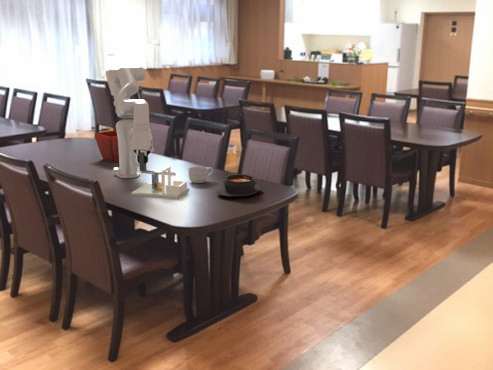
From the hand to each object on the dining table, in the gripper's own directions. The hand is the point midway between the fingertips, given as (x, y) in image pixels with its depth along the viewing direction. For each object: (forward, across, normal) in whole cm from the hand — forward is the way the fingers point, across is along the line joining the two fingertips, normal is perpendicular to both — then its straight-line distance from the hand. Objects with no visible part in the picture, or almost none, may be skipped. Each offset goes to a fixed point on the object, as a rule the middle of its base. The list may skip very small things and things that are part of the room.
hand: (142, 162), depth 286 cm
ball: (+11, +9, 0) cm, 15 cm away
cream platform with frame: (+15, +9, 0) cm, 17 cm away
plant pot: (+15, -46, +60) cm, 77 cm away
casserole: (+15, +48, +9) cm, 52 cm away
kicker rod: (+13, +8, 0) cm, 15 cm away
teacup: (+15, +22, +25) cm, 37 cm away
